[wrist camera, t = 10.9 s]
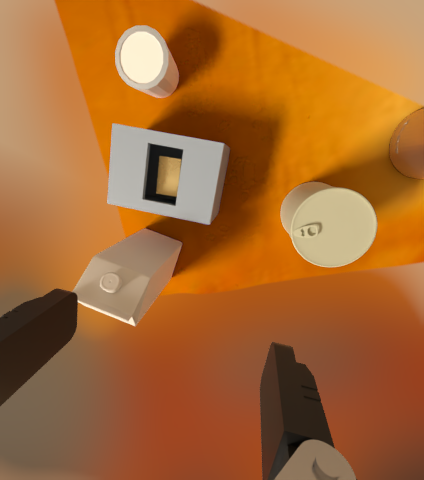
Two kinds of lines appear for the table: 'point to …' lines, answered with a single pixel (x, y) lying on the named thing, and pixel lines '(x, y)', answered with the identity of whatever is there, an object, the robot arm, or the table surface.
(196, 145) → the coin box
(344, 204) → the can
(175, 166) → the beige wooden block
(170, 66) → the white cup
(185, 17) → the table surface
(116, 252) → the milk carton
